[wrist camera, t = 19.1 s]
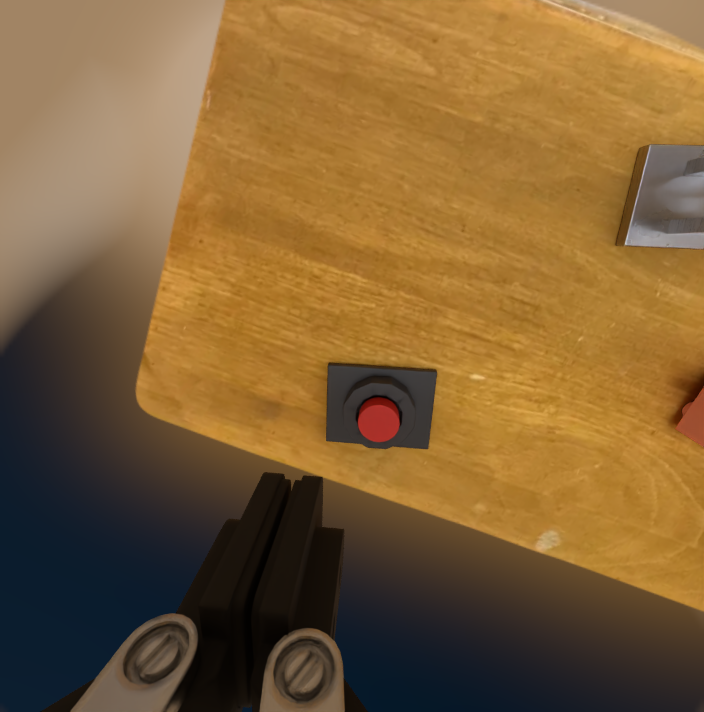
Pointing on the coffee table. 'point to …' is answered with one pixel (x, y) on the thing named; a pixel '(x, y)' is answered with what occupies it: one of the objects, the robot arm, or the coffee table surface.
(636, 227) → the lever stand
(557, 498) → the coffee table surface
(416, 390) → the button block
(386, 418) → the button
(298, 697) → the robot arm
